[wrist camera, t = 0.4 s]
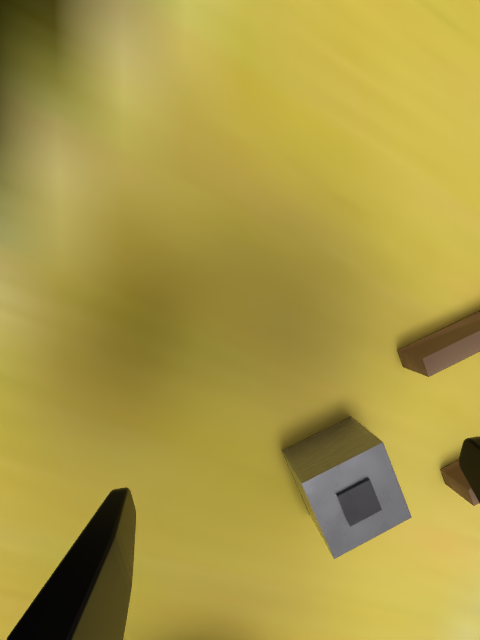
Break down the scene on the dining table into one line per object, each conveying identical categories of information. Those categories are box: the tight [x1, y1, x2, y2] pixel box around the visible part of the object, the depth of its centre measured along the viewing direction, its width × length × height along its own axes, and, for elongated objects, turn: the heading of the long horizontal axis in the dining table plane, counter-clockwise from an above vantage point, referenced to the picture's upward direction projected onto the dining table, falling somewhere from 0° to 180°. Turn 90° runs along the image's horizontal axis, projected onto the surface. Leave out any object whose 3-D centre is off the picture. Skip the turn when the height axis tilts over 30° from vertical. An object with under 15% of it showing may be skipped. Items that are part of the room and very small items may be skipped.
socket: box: [282, 417, 411, 559], centre depth 22 cm, size 5×5×4 cm
